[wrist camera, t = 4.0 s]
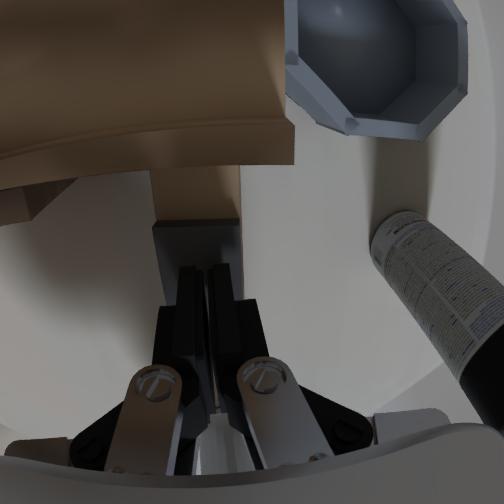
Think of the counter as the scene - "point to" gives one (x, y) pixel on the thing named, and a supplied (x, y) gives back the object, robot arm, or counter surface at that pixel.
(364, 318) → the counter surface
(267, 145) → the lever tray
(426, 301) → the spray can
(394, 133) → the octagonal bowl
